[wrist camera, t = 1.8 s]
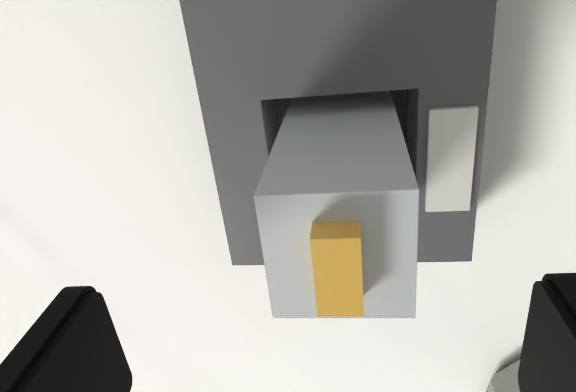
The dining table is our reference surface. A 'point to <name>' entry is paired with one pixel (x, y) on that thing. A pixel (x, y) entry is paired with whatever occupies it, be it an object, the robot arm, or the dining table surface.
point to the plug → (339, 211)
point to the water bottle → (505, 379)
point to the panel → (345, 80)
